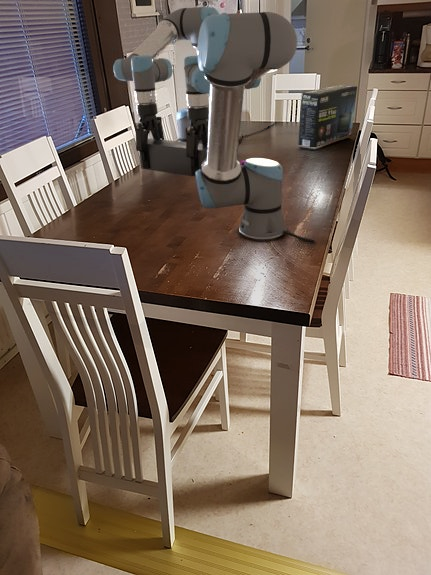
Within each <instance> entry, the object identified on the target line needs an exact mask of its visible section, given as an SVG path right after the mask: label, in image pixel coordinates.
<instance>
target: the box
mask: <svg viewBox="0 0 431 575" xmlns="http://www.w3.org/2000/svg"><path fill="white" fill-rule="evenodd" d="M143 148H144V147H143ZM207 150H208V145H205V144H198V150H197V158H198V164H199V170H202V163H203V162H204V160H206V159H207ZM147 151H148V155H149V164H150V169H146V170H147V171H154V172H160V173H161V172H162V173H167V174H173V175H174V174H175V175H182V176H188V177H189V176H190V177H194V178H196V176H193V175H192V172H191V160H190V158H189V157H186V142H179V140H169V139H165V140H161V139H153V137H152V138H151V137H149V138H148V142H147ZM138 153H139V162H140V168H141V170H145V169H144V168H143V162H142V159H141V152H140V151H138Z"/></svg>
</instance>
